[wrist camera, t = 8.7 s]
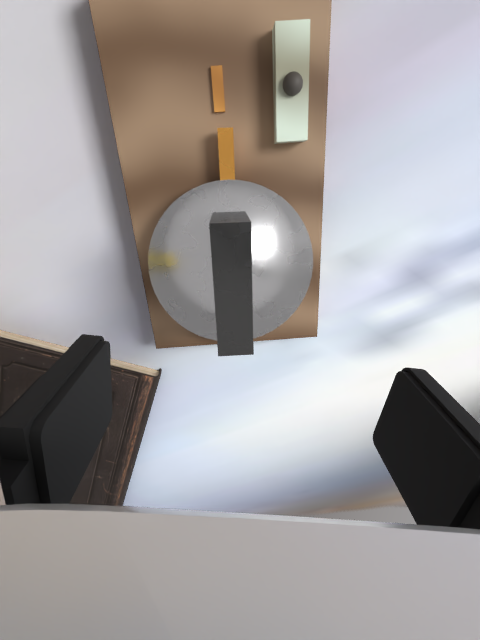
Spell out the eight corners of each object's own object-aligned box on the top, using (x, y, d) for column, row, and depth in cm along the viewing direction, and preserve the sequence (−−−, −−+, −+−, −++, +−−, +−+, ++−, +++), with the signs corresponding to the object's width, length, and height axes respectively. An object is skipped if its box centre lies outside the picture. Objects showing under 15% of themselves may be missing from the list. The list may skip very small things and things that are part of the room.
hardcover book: (-18, 490, 37) (-33, 509, 35) (-12, 320, 29) (-31, 331, 27) (119, 515, 40) (114, 533, 38) (163, 365, 31) (159, 379, 29)
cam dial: (304, 330, 27) (328, 377, 21) (163, 336, 27) (144, 386, 21) (316, 126, 21) (355, 105, 15) (133, 132, 21) (92, 113, 14)
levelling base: (311, 326, 30) (323, 347, 26) (160, 337, 29) (151, 359, 26) (323, -23, 20) (344, -66, 16) (96, -9, 20) (67, -50, 16)
